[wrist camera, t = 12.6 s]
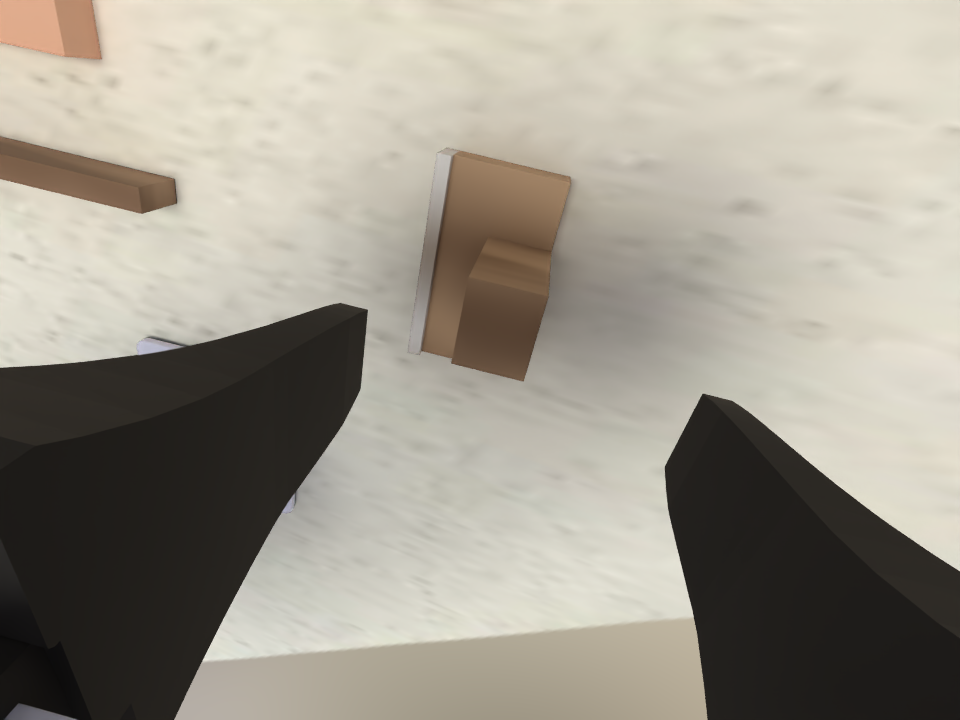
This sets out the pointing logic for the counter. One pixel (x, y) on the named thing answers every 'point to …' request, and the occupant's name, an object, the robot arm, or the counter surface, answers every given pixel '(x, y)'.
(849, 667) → the robot arm
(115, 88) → the counter surface
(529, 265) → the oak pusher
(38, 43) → the terracotta tile
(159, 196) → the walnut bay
